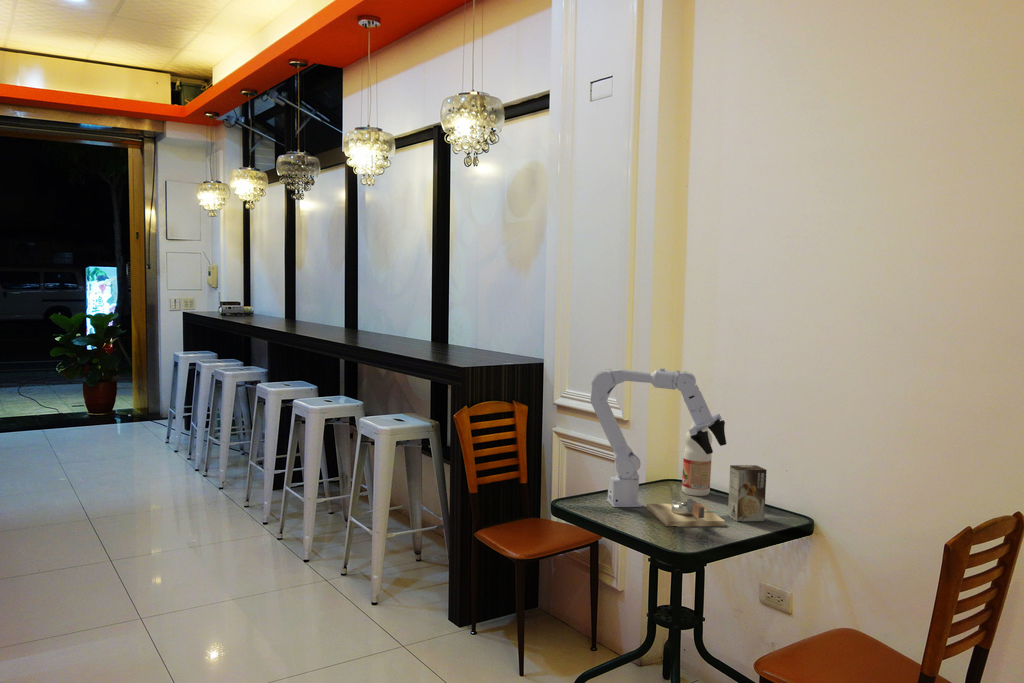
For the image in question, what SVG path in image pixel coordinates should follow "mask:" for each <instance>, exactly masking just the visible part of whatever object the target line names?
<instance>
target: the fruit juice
mask: <svg viewBox="0 0 1024 683" xmlns="http://www.w3.org/2000/svg"><path fill="white" fill-rule="evenodd" d="M707 425H708V424H707ZM707 425H705V426H707ZM694 426H695V423H694V421H693V420H692V423H691V426H689V427H690V428H689V429H688V430H687V432H686V433H685V434H684V443H685V447H684V450H683V458H682V460H683V461H682V462H683V463H682V479H681V492H683V494H685V495H690V496H695V497H706V496H708V495H709V494H710V490H711V474H712V473H711V471H712V458H713V453H711V454H706V453H705V451H704V450H703V449H702V448H701V447H700V445H699V444H698V443H696V442H695V441H694V440H693V439H691V437H690V436H691V435H690V432H689V430H690V429H691V428H692V427H694ZM705 426H704V427H705ZM702 431H703V432H705V431H708V438H709V442H710V445H711V446H712V443H713V436H712V435H713V434H711V431H710V429H709V428H708V427H707V428H705V429H704V430H702Z"/></svg>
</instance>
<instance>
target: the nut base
mask: <svg viewBox="0 0 1024 683" xmlns="http://www.w3.org/2000/svg"><path fill="white" fill-rule="evenodd" d="M700 504H701V505H702V506H704V507H705V510H704V518H697V517H696V516H695V515H680V514H676V513H674V512H672V511H671V509H672V503H646V510H647V511H649V512H650V513H651V514H652V515H653V516H654V515H655V516H654V517H655V518H657V519H658V520H659V521H660V522H661V523H662V524H664V525H665V526H666V527H667V526H677V527H726V520H725V519H723V518H722V517H720V516H718V514H716V513H720V511H719V510H715V511H713V510H710V509H708V507H706V506H705V505H704V504H702V503H700Z"/></svg>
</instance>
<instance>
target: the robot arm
mask: <svg viewBox="0 0 1024 683" xmlns="http://www.w3.org/2000/svg"><path fill="white" fill-rule="evenodd" d="M624 382H635V383H648V384H652V386H653V387H654V388H655V389H657V388H658V389H667V390H672V391H673V390H676V389H677V391H679V392H680V393H681V396H682V398H683V401H684V404H685V405H686V407H687V409H688V412H689V414H690V416H691V418H692V422H693V421H694V423H695V426H694V427H692V428H691V429H690V428H689V429H690V430H689V429H688V430H689V432H690V435H691V436H690V437H691V439H693V440H694V441H695V442H696V443H698V444H699V445H700V447H701V448H702V449H703V450H704V451H705V453H706V454H711V453H712V454H713V453H714V450H713V446H712V444H711V445H710V442H709V438H708V431H705V432H703V431H702V430H704V429H705V428H708V430H709V431H710V433H712V435H714V437H715V439H716V441H717V443H718V445H719V446H720V447H723V446H726V445H727V439H726V433H725V425H726V421H725V420H724V419H722V416H721V414H720V413H717V414H714V415H712V413H711V411H710V409H709V407H708V405H707V404H708V403H707V402H706V400H705V398H704V395H703V394H702V392H701V390H700V388H699V387H698V384H696V383H697V378H696V376H695V375H694V374H693V373H692V372H689V371H686V370H685V371H683V372H681V370H678V369H677V370H676V371H674V370H673V371H672V370H667V369H666V368H663V367H660V368H659V369H656V370H654V371H653V372H647V371H639V370H631V369H627V368H626V369H624V368H615V369H614V368H613V369H611V368H607V369H604V370H603V371H602V370H601V371H599V372H597V373H596V374H595V376H593V379H592V381H591V394H590V404H591V405H592V408H593V410H594V412H595V415H596V417H597V418H598V422H599V423H600V426H601V428H602V430H603V432H604V434H605V436H606V438H607V440H608V443H609V445H610V447H611V449H612V451H613V458H614V461H615V466H616V467H615V470H616V475H615V476H610V477H609V478H608V488H607V498H606V501H607V502H608V503H609V504H610V505H611V506H612V507H613V508H642V507H643V504H641V503H640V502H639V492H640V490H639V489H640V488H639V485H640V475H639V474H638V470H640V467H641V459H640V458H639V456H637V455H636V454H635V453H634V451H633V449H632V448H631V447H630V446H629V444H628V443H627V441H626V438H625V437H624V434H623V432H622V430H621V428H620V426H619V423H618V421H617V419H616V416H615V415H614V412H613V410H612V408H611V406H610V403H609V402H608V399H609V397H610V395H611V392H612V391H613V390H614V389H615V387H616V386H617V385H619V384H621V383H624ZM705 425H707V426H705ZM704 426H705V427H704Z"/></svg>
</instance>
